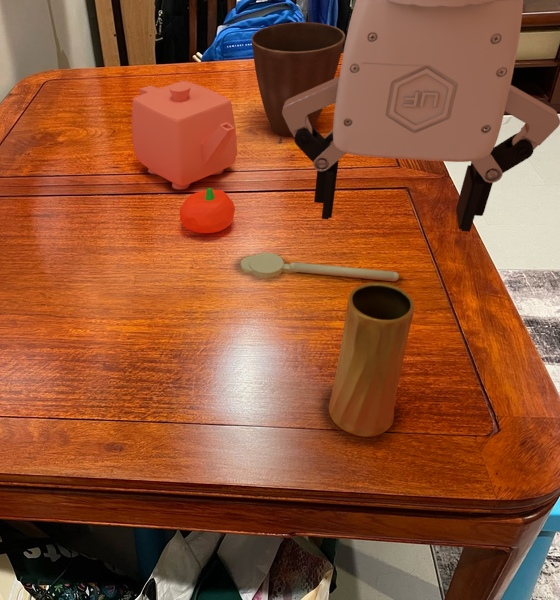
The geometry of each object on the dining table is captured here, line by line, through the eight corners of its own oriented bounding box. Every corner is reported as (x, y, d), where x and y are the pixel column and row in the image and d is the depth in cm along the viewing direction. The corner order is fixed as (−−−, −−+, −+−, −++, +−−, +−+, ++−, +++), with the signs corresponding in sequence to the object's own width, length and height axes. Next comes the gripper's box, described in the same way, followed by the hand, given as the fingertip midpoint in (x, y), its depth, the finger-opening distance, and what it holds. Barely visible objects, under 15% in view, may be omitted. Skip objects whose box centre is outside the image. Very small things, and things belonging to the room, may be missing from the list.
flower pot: (353, 128, 109) (365, 33, 99) (292, 155, 103) (298, 57, 93) (292, 105, 119) (297, 16, 109) (233, 129, 113) (232, 38, 103)
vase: (327, 387, 64) (342, 277, 55) (390, 392, 63) (415, 280, 53) (329, 434, 59) (344, 323, 50) (396, 441, 58) (425, 327, 49)
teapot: (261, 182, 97) (263, 93, 88) (197, 211, 92) (192, 120, 83) (178, 138, 112) (173, 59, 103) (119, 161, 107) (108, 80, 98)
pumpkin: (172, 222, 90) (169, 183, 86) (223, 209, 92) (222, 170, 88) (190, 248, 85) (188, 207, 81) (244, 233, 87) (244, 193, 83)
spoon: (398, 270, 78) (399, 262, 77) (398, 292, 74) (399, 284, 74) (243, 255, 83) (243, 248, 82) (237, 275, 79) (237, 268, 79)
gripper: (283, -20, 35) (270, 232, 46) (634, -23, 31) (528, 256, 42) (297, -49, 41) (283, 182, 52) (598, -56, 36) (513, 199, 47)
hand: (393, 215), depth 47 cm, fingers open, 9 cm apart
